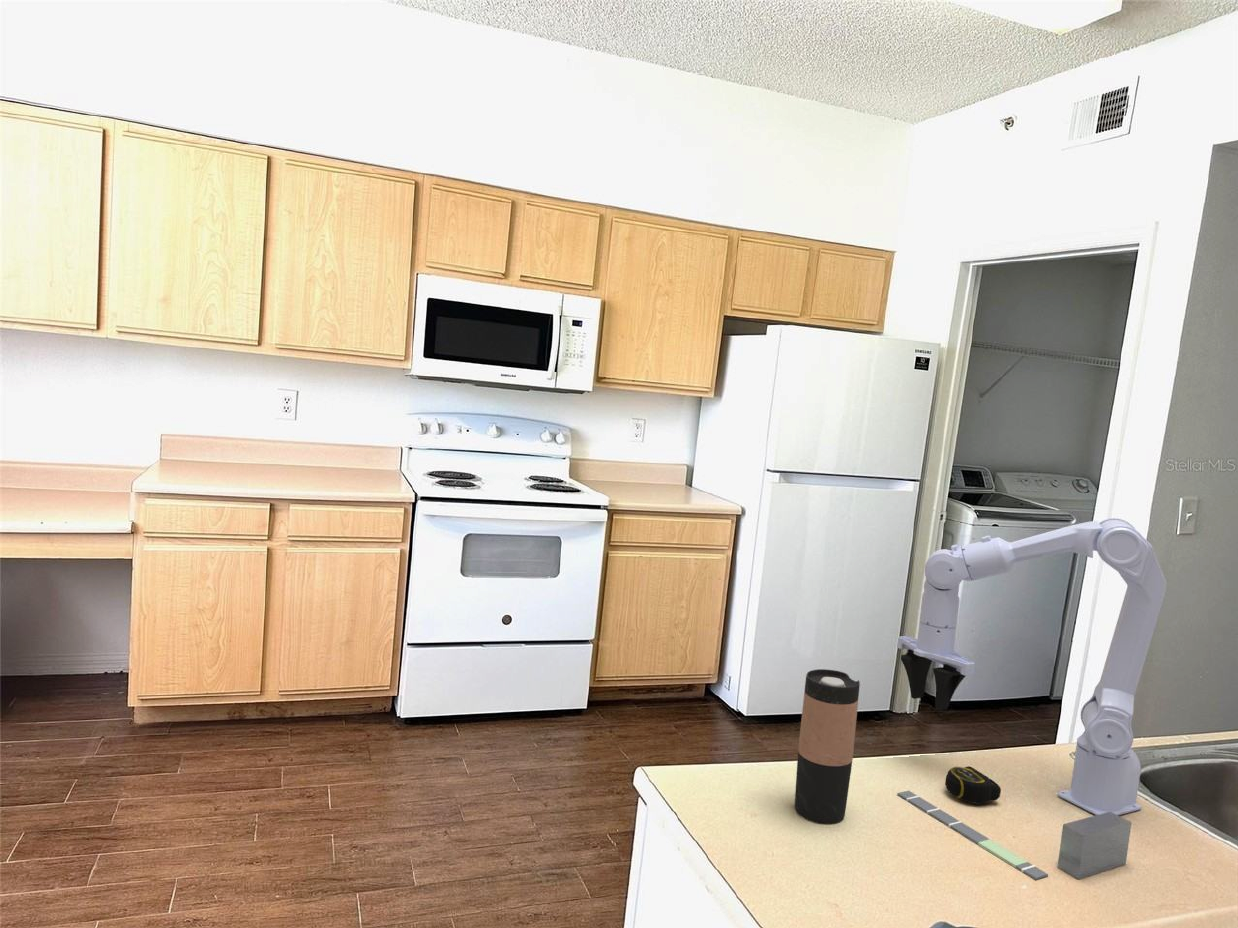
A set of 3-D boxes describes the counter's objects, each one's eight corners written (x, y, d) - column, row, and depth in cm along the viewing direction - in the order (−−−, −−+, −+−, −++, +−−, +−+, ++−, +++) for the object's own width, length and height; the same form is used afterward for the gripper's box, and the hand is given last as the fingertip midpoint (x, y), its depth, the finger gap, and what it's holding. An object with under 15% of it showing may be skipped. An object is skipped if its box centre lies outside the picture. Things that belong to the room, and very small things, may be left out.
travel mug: (787, 816, 124) (801, 680, 122) (797, 794, 131) (810, 665, 129) (842, 830, 121) (857, 691, 119) (849, 806, 128) (863, 675, 126)
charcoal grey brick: (1100, 850, 121) (1106, 809, 120) (1125, 864, 118) (1131, 821, 117) (1053, 864, 116) (1059, 822, 116) (1078, 879, 113) (1084, 835, 112)
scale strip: (908, 792, 134) (909, 789, 134) (1048, 876, 113) (1048, 873, 113) (897, 794, 133) (897, 792, 133) (1035, 880, 112) (1035, 877, 112)
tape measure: (1001, 806, 132) (1004, 783, 132) (964, 810, 130) (967, 786, 130) (970, 785, 139) (973, 763, 138) (934, 788, 137) (937, 765, 136)
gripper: (887, 612, 147) (879, 690, 149) (956, 638, 135) (946, 722, 136) (917, 610, 151) (909, 686, 152) (987, 634, 138) (977, 717, 139)
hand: (928, 703), depth 144 cm, fingers open, 5 cm apart
